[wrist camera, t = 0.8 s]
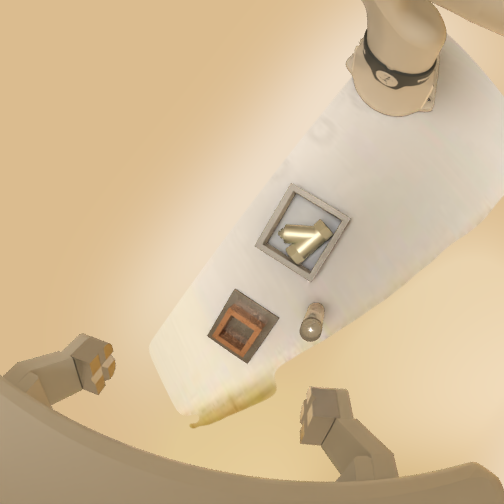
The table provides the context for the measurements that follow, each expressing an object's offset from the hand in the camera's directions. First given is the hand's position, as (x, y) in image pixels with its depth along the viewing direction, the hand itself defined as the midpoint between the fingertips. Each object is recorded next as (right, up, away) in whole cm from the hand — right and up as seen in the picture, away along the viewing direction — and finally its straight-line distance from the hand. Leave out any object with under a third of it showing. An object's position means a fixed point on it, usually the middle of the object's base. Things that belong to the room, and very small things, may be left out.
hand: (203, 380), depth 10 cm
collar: (0, -10, +46) cm, 47 cm away
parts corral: (+11, +9, +41) cm, 43 cm away
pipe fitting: (+11, +8, +41) cm, 43 cm away
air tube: (+13, -6, +41) cm, 44 cm away
